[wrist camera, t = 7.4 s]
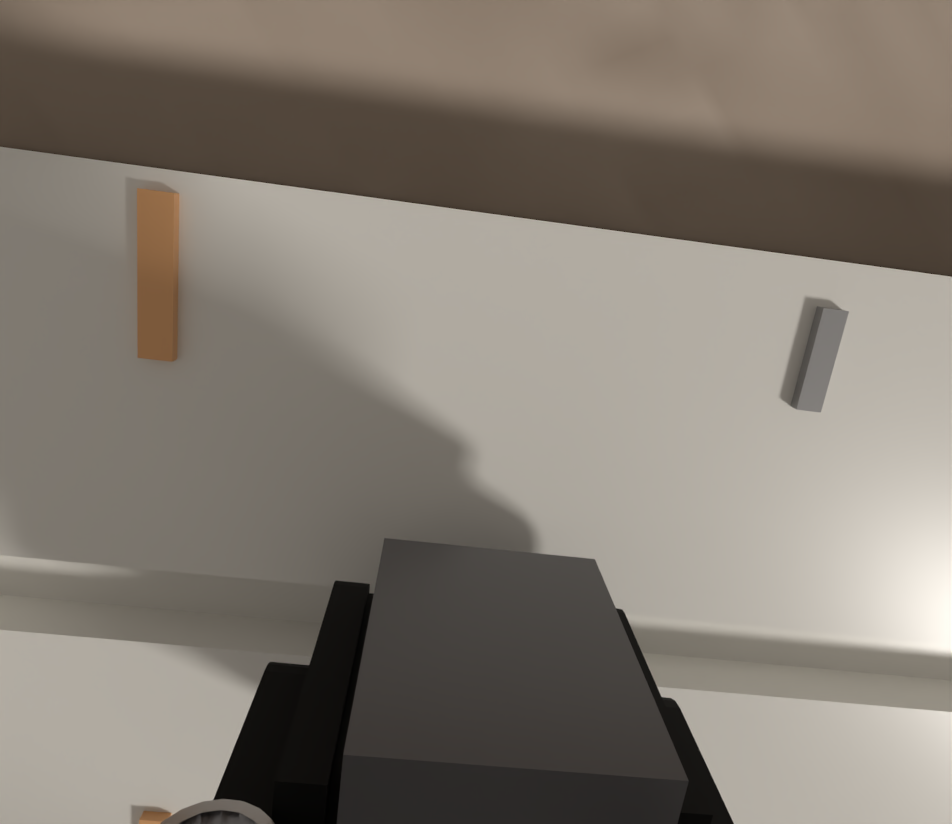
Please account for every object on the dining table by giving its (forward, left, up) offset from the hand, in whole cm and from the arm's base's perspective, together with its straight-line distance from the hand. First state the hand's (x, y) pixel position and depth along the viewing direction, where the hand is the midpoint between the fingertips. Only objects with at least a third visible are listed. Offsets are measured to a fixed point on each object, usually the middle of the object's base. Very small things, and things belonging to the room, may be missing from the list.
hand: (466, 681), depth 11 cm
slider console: (0, -5, -4) cm, 6 cm away
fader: (0, 0, -2) cm, 2 cm away
